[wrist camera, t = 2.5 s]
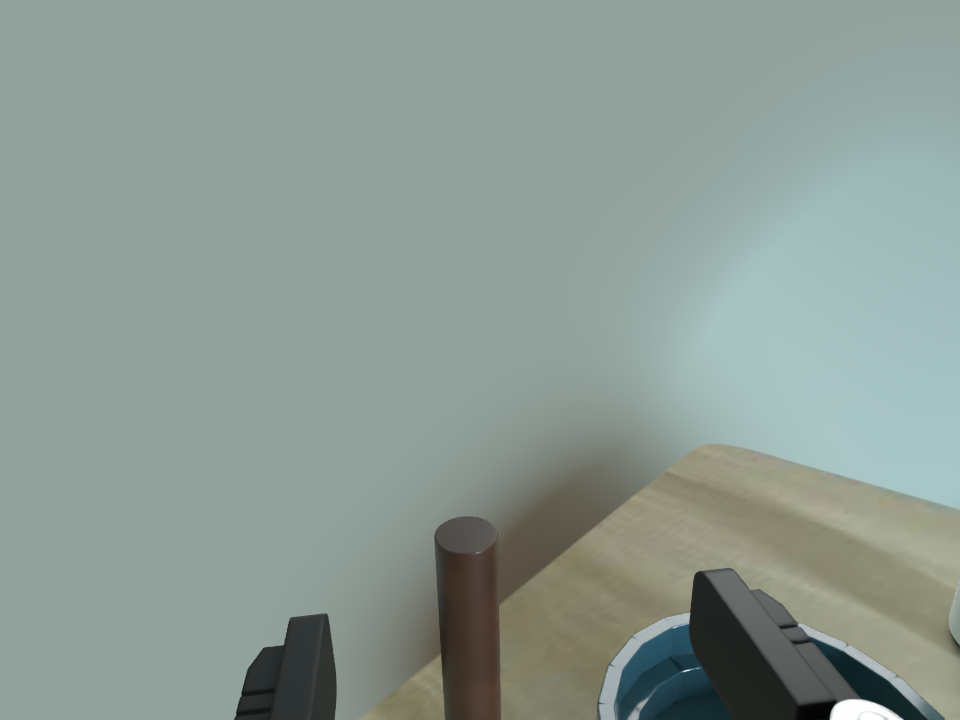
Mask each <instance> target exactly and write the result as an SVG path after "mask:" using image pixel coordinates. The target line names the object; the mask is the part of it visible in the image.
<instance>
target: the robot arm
mask: <svg viewBox="0 0 960 720" xmlns="http://www.w3.org/2000/svg"><path fill="white" fill-rule="evenodd" d="M689 636H690V641H691V645H692V649H693V651H694V654H695V656H696V658H697V660H698V661H699V663H700V665H701V666H702V668H703V670H704V672H705V673H706V675H707V677H708V678H709V680H710V682H711V684H712V685H713V687H714V689H715V690H716V692H717V694H718V695H719V697H720V699H721V701H722V702H723V704H724V706H725V707H726V709H727V711H728V712H729V714H730V716H731V718H732V719H733V720H903V719H902V718H901V717H900V716H898V715H897V714H896V713H894V712H892V711H891V710H889V709H887V708H885V707H883V706H881V705H879V704H876V703H874V702H870V701H866V700H862V699H861V698H860V697H859V696H858V695H857V693H856V692H855V691H854V690H853V689H852V687H851V686H850V685H849V684H848V683H847V681H846V680H845V679H844V678H843V677H842V675H841V674H840V673H839V672H838V671H837V670H836V668H835V667H834V666H833V665H832V664H831V662H830V661H829V660H828V659H827V658H826V656H825V655H824V654H823V653H822V652H821V650H820V649H819V648H818V647H817V646H816V644H815V643H814V642H813V643H812V642H811V640H810V637H809V636H808V635H807V634H806V632H805V631H804V630H803V629H802V628H801V627H799V626H798V623H797V622H796V621H795V619H794V618H793V617H792V616H791V615H790V613H789V612H788V611H787V610H786V609H785V607H784V606H783V605H782V604H781V603H779V602H778V601H776V600H775V599H773V598H772V597H770V596H769V595H767V594H766V593H764V592H763V591H761V590H760V589H757V590H750V589H749V588H748V586H747V585H746V584H745V583H744V581H743V580H742V579H741V578H740V576H739V575H738V574H737V573H736V572H735V571H734V570H733V569H731V568H725V569H716V570H708V571H699V572H697V573H696V574H695V576H694V581H693V591H692V600H691V610H690V620H689ZM336 689H337V688H336V670H335V662H334V655H333V647H332V640H331V633H330V625H329V619H328V615H327V614H317V615H309V616H300V617H292V618H290V620H289V624H288V628H287V633H286V638H285V643H284V645H282V646H274V647H265V648H263V649H262V651H261V652H260V653H259V655H258V656H257V658H256V659H255V660H254V662H253V663H252V664H251V666H250V667H249V668H248V670H247V674H246V678H245V682H244V686H243V689H242V696H241V697H240V700H239V704H238V708H237V712H236V717H235V719H234V720H334V719H335V709H336Z"/></svg>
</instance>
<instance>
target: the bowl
mask: <svg viewBox="0 0 960 720" xmlns="http://www.w3.org/2000/svg"><path fill="white" fill-rule="evenodd" d="M689 620H690V612H689V613H684V614H679V615H674V616H670V617H665V618H663V619H661V620H659V621H657V622H655V623H654V624H652V625H650V626H648V627H646V628H645V629H643V630H641V631H639V632H638V633H636V634H634V635H632V637H631V638H630V639H629V640H628V641H627V642H626V644H625V645H624V646H623V647H622V649H621V650H620V651H619V652H618V654H617V655H616V656H615V657H614V658H613V660H612V661H611V662H610V663H609V665H608V666H607V670H606V674H605V677H604V681H603V684H602V688H601V692H600V695H599V699H598V703H597V720H733V719H732V718H731V716H730V714H729V712H728V711H727V709H726V707H725V706H724V704H723V702H722V701H721V699H720V697H719V695H718V694H717V692H716V690H715V689H714V687H713V685H712V684H711V682H710V680H709V678H708V677H707V675H706V673H705V672H704V670H703V668H702V666H701V665H700V663H699V661H698V660H697V658H696V656H695V654H694V651H693V649H692V645H691V641H690V636H689ZM797 623H798V622H797ZM798 626H799V627H801V628H802V629H803V630H804V631H805V632H806V634H807V635H808V636H809V637H810V640H811V642H812V643H813V642H814V643H815V644H816V646H817V647H818V648H819V649H820V650H821V652H822V653H823V654H824V655H825V656H826V658H827V659H828V660H829V661H830V662H831V664H832V665H833V666H834V667H835V668H836V670H837V671H838V672H839V673H840V674H841V675H842V677H843V678H844V679H845V680H846V681H847V683H848V684H849V685H850V686H851V687H852V689H853V690H854V691H855V692H856V693H857V695H858V696H859V697H860V698H861V699H862V700H866V701H870V702H874V703H876V704H879V705H881V706H883V707H885V708H887V709H889V710H891V711H892V712H894V713H896V714H897V715H898V716H900V717H901V718H902V719H903V720H945V719H944V717H943V716H941V715H940V714H939V713H938V712H937V711H936V710H935V709H934V708H933V707H932V706H931V705H930V704H929V703H927V702H926V701H925V700H924V699H923V698H922V697H921V696H920V695H919V694H918V693H917V692H916V691H915V690H914V689H912V688H911V687H910V686H909V685H908V684H907V683H906V682H905V681H904V680H903V679H902V678H901V677H898V675H896V674H895V673H893V672H892V671H890V670H889V669H887V668H886V667H884V666H882V665H881V664H879V663H878V662H876V661H875V660H873V659H872V658H870V657H868V656H867V655H865V654H864V653H862V652H861V651H859V650H858V649H856V648H854V647H853V646H851V645H848V643H845V642H843V641H841V640H838V639H836V638H834V637H831V636H829V635H827V634H824V633H822V632H820V631H817V630H815V629H813V628H810V627H808V626H806V625H803V624H801V623H798Z"/></svg>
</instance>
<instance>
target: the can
mask: <svg viewBox="0 0 960 720" xmlns="http://www.w3.org/2000/svg"><path fill="white" fill-rule="evenodd" d="M949 628H950V631H951V634H952V635H953V637H954V639H955V640H956V641H957V643H958V644H959V646H960V579H959V582H958V586H957V590H956V593H955V597H954V600H953V604H952V608H951V612H950V616H949Z"/></svg>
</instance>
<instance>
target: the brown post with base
mask: <svg viewBox="0 0 960 720" xmlns="http://www.w3.org/2000/svg"><path fill="white" fill-rule="evenodd" d="M434 538H435V556H436V571H437V572H436V573H437V590H438V607H439V624H440V641H441V658H442V675H443V692H444V709H445V720H501V687H500V632H499V581H498V580H499V578H498V577H499V576H498V533H497V530H496V528H495V527H494V525H492V524H491V523H490V522H488V521H486V520H484V519H482V518H478V517H458V518H454V519H451V520H448V521H446V522H444V523H443V524H442V525H440V526H439V527H438V529H437V530H436V533H435V536H434Z"/></svg>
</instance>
